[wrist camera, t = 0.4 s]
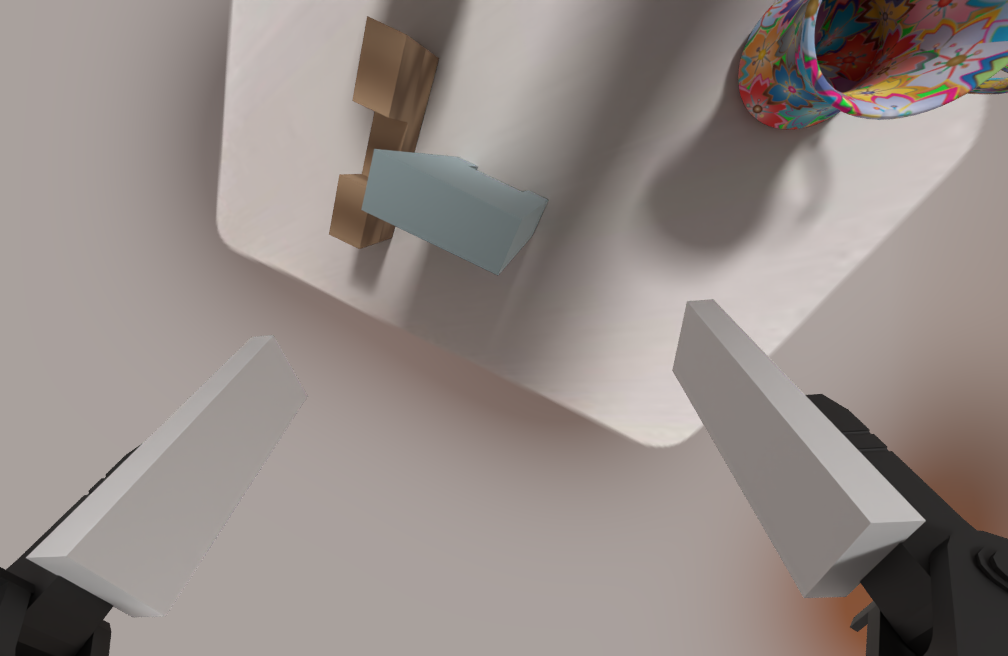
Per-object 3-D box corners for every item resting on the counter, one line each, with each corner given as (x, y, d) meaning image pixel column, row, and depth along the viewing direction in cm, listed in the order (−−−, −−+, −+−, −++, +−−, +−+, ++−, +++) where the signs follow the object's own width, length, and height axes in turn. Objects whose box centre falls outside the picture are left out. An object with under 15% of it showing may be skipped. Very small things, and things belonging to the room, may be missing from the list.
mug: (699, 102, 27) (758, 66, 18) (794, -55, 23) (940, -214, 13) (841, 175, 27) (979, 178, 17) (963, 31, 23) (1231, -68, 13)
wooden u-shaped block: (406, 43, 30) (367, 16, 24) (439, 58, 29) (406, 34, 24) (365, 225, 37) (329, 234, 32) (392, 237, 37) (359, 249, 31)
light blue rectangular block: (458, 156, 32) (374, 148, 20) (548, 199, 32) (522, 219, 19) (446, 194, 34) (361, 209, 21) (532, 236, 34) (498, 275, 21)
